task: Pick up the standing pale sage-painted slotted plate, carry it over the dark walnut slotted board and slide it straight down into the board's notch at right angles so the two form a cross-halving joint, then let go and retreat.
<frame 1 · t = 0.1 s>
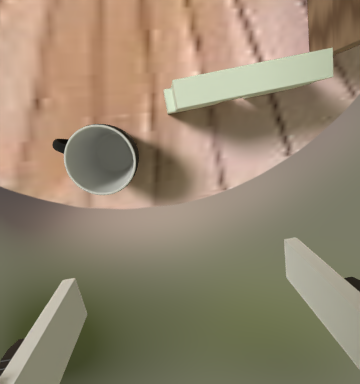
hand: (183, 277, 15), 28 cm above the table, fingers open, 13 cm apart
mug: (106, 149, 40), on the table
sage plate: (227, 92, 39), on the table
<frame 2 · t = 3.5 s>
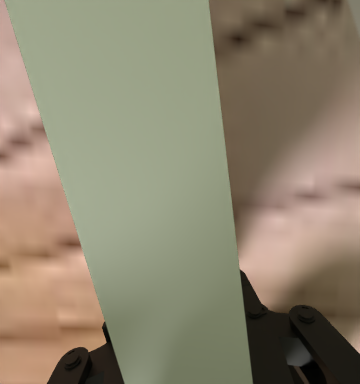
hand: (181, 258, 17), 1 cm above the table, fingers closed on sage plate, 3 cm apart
sage plate: (167, 180, 17), on the table, touching gripper
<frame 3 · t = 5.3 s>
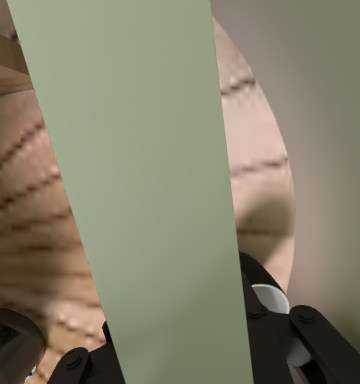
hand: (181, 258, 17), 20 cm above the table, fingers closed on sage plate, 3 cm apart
mug: (231, 275, 42), on the table
slotted board: (68, 68, 32), on the table
sage plate: (167, 180, 17), point 19 cm above the table, touching gripper
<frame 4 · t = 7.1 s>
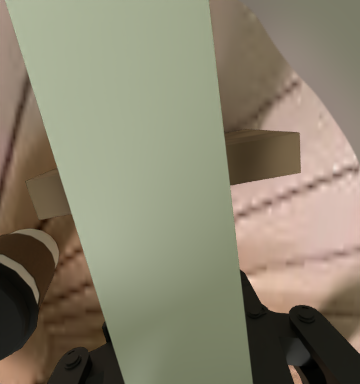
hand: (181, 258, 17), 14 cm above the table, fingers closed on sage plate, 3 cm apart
slotted board: (166, 156, 29), on the table
sage plate: (167, 180, 17), point 13 cm above the table, touching gripper
coffee cup: (35, 249, 32), on the table
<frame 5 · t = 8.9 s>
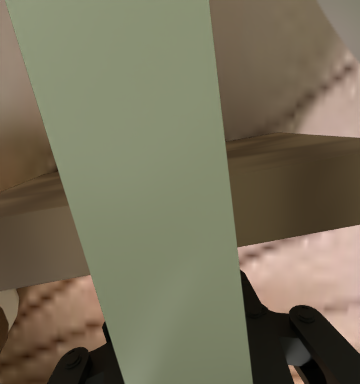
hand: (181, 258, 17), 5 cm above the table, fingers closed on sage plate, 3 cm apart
slotted board: (165, 170, 21), on the table
sage plate: (167, 180, 17), point 4 cm above the table, touching gripper
when the fingers open (3 cm above the table, at t = 10.6 s): sage plate drops 1 cm, on the table.
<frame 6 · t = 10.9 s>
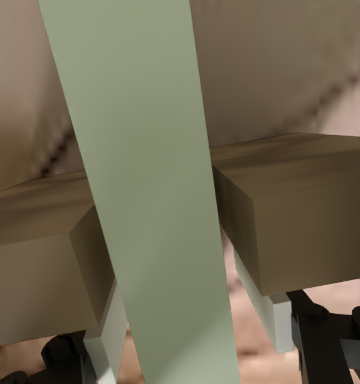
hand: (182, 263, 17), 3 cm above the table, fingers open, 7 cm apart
slotted board: (167, 176, 18), on the table
sage plate: (166, 177, 18), on the table
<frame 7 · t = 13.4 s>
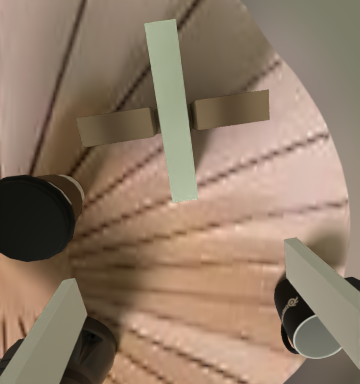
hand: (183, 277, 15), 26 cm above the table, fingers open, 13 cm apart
mug: (286, 297, 47), on the table
slotted board: (172, 119, 37), on the table
sage plate: (172, 120, 37), on the table
coffee cup: (65, 193, 40), on the table
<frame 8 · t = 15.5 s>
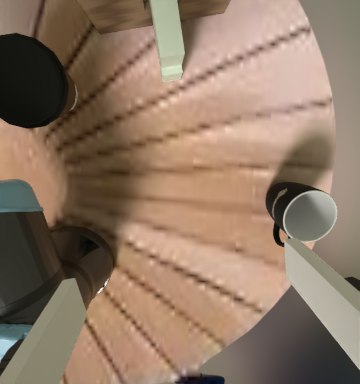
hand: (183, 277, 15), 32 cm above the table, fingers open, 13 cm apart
mug: (277, 205, 49), on the table
slotted board: (160, 12, 39), on the table
sage plate: (160, 13, 39), on the table
coffee cup: (59, 93, 41), on the table
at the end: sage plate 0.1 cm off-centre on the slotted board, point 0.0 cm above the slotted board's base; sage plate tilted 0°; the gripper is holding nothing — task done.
